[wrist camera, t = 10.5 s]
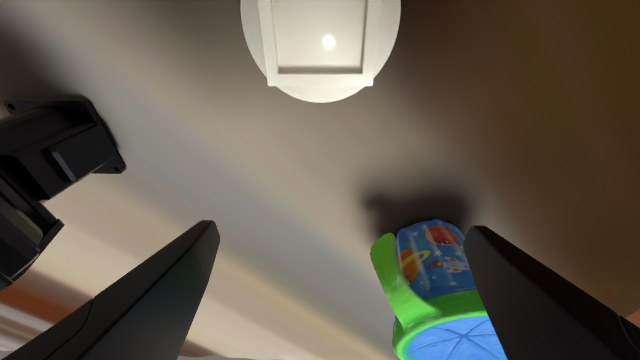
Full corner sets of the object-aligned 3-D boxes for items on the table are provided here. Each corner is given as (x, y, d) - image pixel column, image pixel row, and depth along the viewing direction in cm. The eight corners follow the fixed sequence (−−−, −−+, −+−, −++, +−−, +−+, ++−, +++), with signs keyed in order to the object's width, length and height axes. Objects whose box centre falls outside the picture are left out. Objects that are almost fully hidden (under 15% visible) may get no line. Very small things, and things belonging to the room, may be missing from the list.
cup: (267, 88, 18) (251, 105, 14) (247, -67, 13) (218, -95, 10) (378, 88, 17) (389, 106, 14) (397, -70, 13) (421, -101, 9)
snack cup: (506, 253, 27) (587, 362, 18) (423, 290, 31) (458, 391, 23) (425, 169, 21) (489, 272, 13) (338, 230, 26) (342, 335, 17)
